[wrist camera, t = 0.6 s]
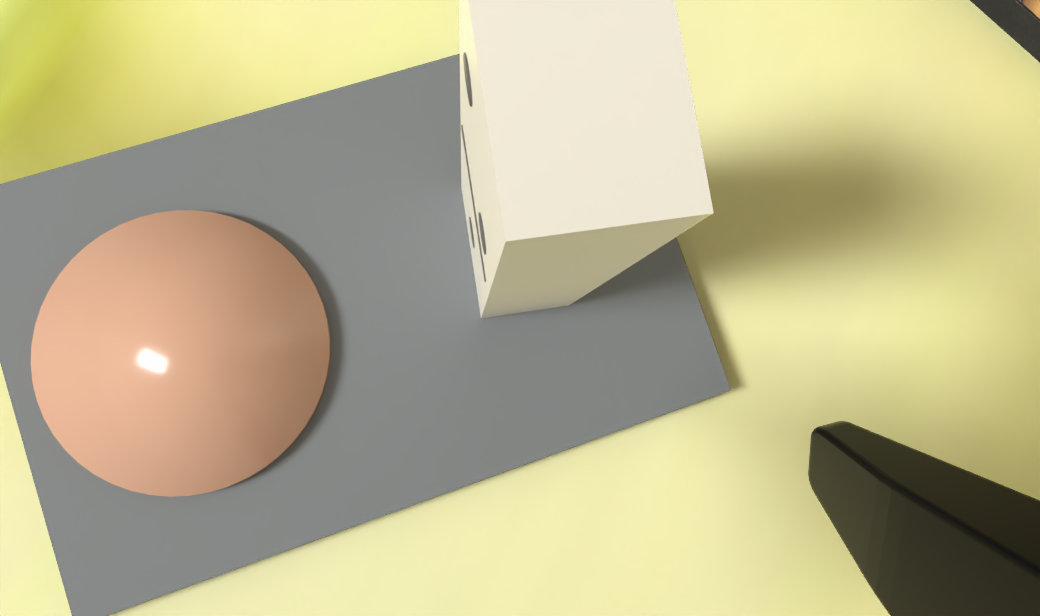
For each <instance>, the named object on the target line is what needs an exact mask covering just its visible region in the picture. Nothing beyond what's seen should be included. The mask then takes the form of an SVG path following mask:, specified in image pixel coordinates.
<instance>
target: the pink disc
mask: <svg viewBox="0 0 1040 616" xmlns="http://www.w3.org/2000/svg"><path fill="white" fill-rule="evenodd" d="M330 359H331V336H330V328H329V321H328V317H327V313H326V310H325V306H324V303H323V301H322V298H321V296H320V294H319V291H318V289H317V287H316V285H315V283H314V282H313V280H312V278H311V277H310V275H309V273H308V272H307V270H306V269H305V268H304V267H303V265H302V264H301V263H300V262H299V260H298V259H297V258H296V257H295V256H294V255H293V254H292V253H291V252H290V251H289V250H288V249H287V248H286V247H284V246H283V245H282V244H281V243H279V242H278V241H277V240H275V239H274V238H272V237H271V236H270V235H268V234H267V233H265V232H264V231H262V230H260V229H258V228H256V227H254V226H253V225H251V224H249V223H246V222H244V221H241V220H238V219H236V218H233V217H230V216H226V215H222V214H218V213H214V212H206V211H197V210H175V211H167V212H160V213H154V214H150V215H147V216H143V217H139V218H136V219H133V220H131V221H128V222H126V223H123V224H121V225H119V226H117V227H115V228H113V229H111V230H109V231H108V232H106V233H104V234H102V235H101V236H99V237H98V238H97V239H95V240H94V241H92V242H91V243H89V244H88V245H87V246H86V247H85V248H83V249H82V250H81V251H80V252H79V253H78V254H77V255H76V256H75V257H74V258H73V259H72V260H71V261H70V262H69V263H68V264H67V266H66V267H65V268H64V269H63V270H62V271H61V273H60V274H59V276H58V277H57V279H56V280H55V282H54V283H53V285H52V286H51V288H50V289H49V291H48V293H47V295H46V298H45V300H44V302H43V304H42V306H41V308H40V311H39V314H38V318H37V321H36V324H35V328H34V333H33V339H32V344H31V373H32V383H33V387H34V391H35V395H36V399H37V402H38V405H39V407H40V410H41V413H42V415H43V418H44V420H45V421H46V423H47V425H48V427H49V428H50V430H51V432H52V434H53V435H54V437H55V438H56V439H57V440H58V442H59V443H60V444H61V445H62V447H63V448H64V449H65V451H67V452H68V453H69V454H70V455H71V456H72V457H73V458H74V459H75V460H76V461H77V462H78V463H79V464H80V465H82V466H83V467H85V468H86V469H87V470H89V471H90V472H91V473H93V474H94V475H96V476H98V477H100V478H102V479H103V480H105V481H107V482H109V483H111V484H113V485H116V486H119V487H122V488H124V489H127V490H130V491H134V492H138V493H143V494H147V495H155V496H167V497H175V496H192V495H197V494H203V493H209V492H212V491H216V490H219V489H222V488H225V487H229V486H231V485H233V484H235V483H237V482H240V481H242V480H244V479H246V478H248V477H250V476H252V475H254V474H255V473H257V472H259V471H260V470H262V469H264V468H265V467H267V466H268V465H269V464H271V463H272V462H273V461H275V460H276V459H277V458H278V457H280V456H281V455H282V454H283V453H284V452H285V451H286V450H287V449H288V448H289V447H290V446H291V445H292V444H293V443H294V442H295V441H296V440H297V438H298V437H299V436H300V434H301V433H302V432H303V430H304V429H305V428H306V426H307V425H308V423H309V421H310V420H311V418H312V416H313V415H314V413H315V411H316V409H317V407H318V405H319V402H320V400H321V397H322V395H323V392H324V389H325V385H326V382H327V378H328V374H329V367H330Z"/></svg>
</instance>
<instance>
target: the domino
mask: <svg viewBox="0 0 1040 616" xmlns="http://www.w3.org/2000/svg"><path fill="white" fill-rule="evenodd" d="M459 42H460V117H461V188H462V195H463V202H464V208H465V215H466V222H467V228H468V235H469V242H470V248H471V255H472V262H473V268H474V275H475V282H476V288H477V295H478V302H479V308H480V315H481V318H488V317H495V316H502V315H508V314H515V313H522V312H529V311H535V310H542V309H549V308H556V307H562V306H569V305H570V304H572V303H574V302H575V301H577V300H578V299H580V298H581V297H583V296H585V295H586V294H588V293H589V292H591V291H592V290H594V289H596V288H597V287H599V286H600V285H602V284H603V283H605V282H606V281H608V280H610V279H611V278H613V277H614V276H616V275H617V274H619V273H621V272H622V271H624V270H625V269H627V268H628V267H630V266H632V265H633V264H635V263H636V262H638V261H639V260H641V259H643V258H644V257H646V256H647V255H649V254H650V253H652V252H654V251H655V250H657V249H658V248H660V247H661V246H663V245H665V244H666V243H668V242H669V241H671V240H672V239H674V238H676V237H677V236H679V235H680V234H682V233H683V232H685V231H687V230H688V229H690V228H691V227H693V226H694V225H696V224H697V223H699V222H701V221H702V220H704V219H705V218H707V217H708V216H710V215H712V214H713V213H714V212H713V207H712V201H711V196H710V190H709V185H708V179H707V174H706V168H705V163H704V157H703V152H702V146H701V141H700V135H699V130H698V125H697V119H696V114H695V108H694V103H693V97H692V92H691V86H690V81H689V75H688V70H687V64H686V59H685V53H684V48H683V43H682V37H681V32H680V26H679V21H678V15H677V10H676V4H675V0H459Z"/></svg>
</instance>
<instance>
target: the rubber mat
mask: <svg viewBox="0 0 1040 616" xmlns="http://www.w3.org/2000/svg"><path fill="white" fill-rule="evenodd" d="M175 210H197V211H206V212H214V213H218V214H222V215H226V216H230V217H233V218H236V219H238V220H241V221H244V222H246V223H249V224H251V225H253V226H254V227H256V228H258V229H260V230H262V231H264V232H265V233H267V234H268V235H270V236H271V237H272V238H274V239H275V240H277V241H278V242H279V243H281V244H282V245H283V246H284V247H286V248H287V249H288V250H289V251H290V252H291V253H292V254H293V255H294V256H295V257H296V258H297V259H298V260H299V262H300V263H301V264H302V265H303V267H304V268H305V269H306V270H307V272H308V273H309V275H310V277H311V278H312V280H313V282H314V283H315V285H316V287H317V289H318V291H319V294H320V296H321V298H322V301H323V303H324V306H325V310H326V313H327V317H328V321H329V328H330V336H331V359H330V367H329V374H328V378H327V382H326V385H325V389H324V392H323V395H322V397H321V400H320V402H319V405H318V407H317V409H316V411H315V413H314V415H313V416H312V418H311V420H310V421H309V423H308V425H307V426H306V428H305V429H304V430H303V432H302V433H301V434H300V436H299V437H298V438H297V440H296V441H295V442H294V443H293V444H292V445H291V446H290V447H289V448H288V449H287V450H286V451H285V452H284V453H283V454H282V455H281V456H280V457H278V458H277V459H276V460H275V461H273V462H272V463H271V464H269V465H268V466H267V467H265V468H264V469H262V470H260V471H259V472H257V473H255V474H254V475H252V476H250V477H248V478H246V479H244V480H242V481H240V482H237V483H235V484H233V485H231V486H229V487H225V488H222V489H219V490H216V491H212V492H209V493H203V494H197V495H192V496H175V497H167V496H155V495H147V494H143V493H138V492H134V491H130V490H127V489H124V488H122V487H119V486H116V485H113V484H111V483H109V482H107V481H105V480H103V479H102V478H100V477H98V476H96V475H94V474H93V473H91V472H90V471H89V470H87V469H86V468H85V467H83V466H82V465H80V464H79V463H78V462H77V461H76V460H75V459H74V458H73V457H72V456H71V455H70V454H69V453H68V452H67V451H65V449H64V448H63V447H62V445H61V444H60V443H59V442H58V440H57V439H56V438H55V437H54V435H53V434H52V432H51V430H50V428H49V427H48V425H47V423H46V421H45V420H44V418H43V415H42V413H41V410H40V407H39V405H38V402H37V399H36V395H35V391H34V387H33V383H32V373H31V344H32V339H33V333H34V328H35V324H36V321H37V318H38V314H39V311H40V308H41V306H42V304H43V302H44V300H45V298H46V295H47V293H48V291H49V289H50V288H51V286H52V285H53V283H54V282H55V280H56V279H57V277H58V276H59V274H60V273H61V271H62V270H63V269H64V268H65V267H66V266H67V264H68V263H69V262H70V261H71V260H72V259H73V258H74V257H75V256H76V255H77V254H78V253H79V252H80V251H81V250H82V249H83V248H85V247H86V246H87V245H88V244H89V243H91V242H92V241H94V240H95V239H97V238H98V237H99V236H101V235H102V234H104V233H106V232H108V231H109V230H111V229H113V228H115V227H117V226H119V225H121V224H123V223H126V222H128V221H131V220H133V219H136V218H139V217H143V216H147V215H150V214H154V213H160V212H167V211H175ZM0 363H1V367H2V370H3V374H4V377H5V381H6V384H7V388H8V392H9V395H10V399H11V402H12V406H13V409H14V413H15V416H16V420H17V423H18V427H19V430H20V434H21V437H22V441H23V444H24V448H25V451H26V455H27V458H28V462H29V465H30V469H31V472H32V476H33V479H34V483H35V486H36V490H37V494H38V497H39V501H40V504H41V508H42V511H43V515H44V518H45V522H46V525H47V529H48V532H49V536H50V539H51V543H52V546H53V550H54V553H55V557H56V560H57V564H58V567H59V571H60V574H61V578H62V581H63V585H64V588H65V592H66V596H67V599H68V603H69V606H70V610H71V613H72V616H107V615H110V614H113V613H115V612H118V611H121V610H124V609H126V608H129V607H132V606H135V605H138V604H140V603H143V602H146V601H149V600H151V599H154V598H157V597H160V596H162V595H165V594H168V593H171V592H174V591H176V590H179V589H182V588H185V587H187V586H190V585H193V584H196V583H198V582H201V581H204V580H207V579H210V578H212V577H215V576H218V575H221V574H223V573H226V572H229V571H232V570H234V569H237V568H240V567H243V566H246V565H248V564H251V563H254V562H257V561H259V560H262V559H265V558H268V557H270V556H273V555H276V554H279V553H282V552H284V551H287V550H290V549H293V548H295V547H298V546H301V545H304V544H306V543H309V542H312V541H315V540H318V539H320V538H323V537H326V536H329V535H331V534H334V533H337V532H340V531H342V530H345V529H348V528H351V527H354V526H356V525H359V524H362V523H365V522H367V521H370V520H373V519H376V518H378V517H381V516H384V515H387V514H390V513H392V512H395V511H398V510H401V509H403V508H406V507H409V506H412V505H414V504H417V503H420V502H423V501H426V500H428V499H431V498H434V497H437V496H439V495H442V494H445V493H448V492H450V491H453V490H456V489H459V488H462V487H464V486H467V485H470V484H473V483H475V482H478V481H481V480H484V479H486V478H489V477H492V476H495V475H498V474H500V473H503V472H506V471H509V470H511V469H514V468H517V467H520V466H522V465H525V464H528V463H531V462H534V461H536V460H539V459H542V458H545V457H547V456H550V455H553V454H556V453H558V452H561V451H564V450H567V449H570V448H572V447H575V446H578V445H581V444H583V443H586V442H589V441H592V440H594V439H597V438H600V437H603V436H606V435H608V434H611V433H614V432H617V431H619V430H622V429H625V428H628V427H630V426H633V425H636V424H639V423H642V422H644V421H647V420H650V419H653V418H655V417H658V416H661V415H664V414H666V413H669V412H672V411H675V410H678V409H680V408H683V407H686V406H689V405H691V404H694V403H697V402H700V401H702V400H705V399H708V398H711V397H714V396H716V395H719V394H722V393H725V392H727V391H730V390H731V388H730V386H729V383H728V380H727V377H726V374H725V372H724V369H723V366H722V363H721V361H720V358H719V355H718V352H717V349H716V347H715V344H714V341H713V338H712V336H711V333H710V330H709V327H708V324H707V322H706V319H705V316H704V313H703V311H702V308H701V305H700V302H699V299H698V297H697V294H696V291H695V288H694V285H693V283H692V280H691V277H690V274H689V272H688V269H687V266H686V263H685V260H684V258H683V255H682V252H681V249H680V247H679V244H678V241H677V238H674V239H672V240H671V241H669V242H668V243H666V244H665V245H663V246H661V247H660V248H658V249H657V250H655V251H654V252H652V253H650V254H649V255H647V256H646V257H644V258H643V259H641V260H639V261H638V262H636V263H635V264H633V265H632V266H630V267H628V268H627V269H625V270H624V271H622V272H621V273H619V274H617V275H616V276H614V277H613V278H611V279H610V280H608V281H606V282H605V283H603V284H602V285H600V286H599V287H597V288H596V289H594V290H592V291H591V292H589V293H588V294H586V295H585V296H583V297H581V298H580V299H578V300H577V301H575V302H574V303H572V304H570V305H569V306H562V307H556V308H549V309H542V310H535V311H529V312H522V313H515V314H508V315H502V316H495V317H488V318H481V315H480V308H479V302H478V295H477V288H476V282H475V275H474V268H473V262H472V255H471V248H470V242H469V235H468V228H467V222H466V215H465V208H464V202H463V195H462V188H461V117H460V54H457V55H454V56H450V57H447V58H443V59H440V60H436V61H433V62H429V63H426V64H422V65H419V66H415V67H412V68H408V69H405V70H401V71H397V72H394V73H390V74H387V75H383V76H380V77H376V78H373V79H369V80H366V81H362V82H359V83H355V84H352V85H348V86H345V87H341V88H338V89H334V90H330V91H327V92H323V93H320V94H316V95H313V96H309V97H306V98H302V99H299V100H295V101H292V102H288V103H285V104H281V105H278V106H274V107H271V108H267V109H264V110H260V111H256V112H253V113H249V114H246V115H242V116H239V117H235V118H232V119H228V120H225V121H221V122H218V123H214V124H211V125H207V126H204V127H200V128H197V129H193V130H189V131H186V132H182V133H179V134H175V135H172V136H168V137H165V138H161V139H158V140H154V141H151V142H147V143H144V144H140V145H137V146H133V147H130V148H126V149H122V150H119V151H115V152H112V153H108V154H105V155H101V156H98V157H94V158H91V159H87V160H84V161H80V162H77V163H73V164H70V165H66V166H63V167H59V168H55V169H52V170H48V171H45V172H41V173H38V174H34V175H31V176H27V177H24V178H20V179H17V180H13V181H10V182H6V183H3V184H0Z"/></svg>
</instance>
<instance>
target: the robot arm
mask: <svg viewBox="0 0 1040 616" xmlns="http://www.w3.org/2000/svg"><path fill="white" fill-rule="evenodd" d="M808 474H809V481H810V484H811V487H812V489H813V491H814V493H815V495H816V496H817V498H818V500H819V502H820V503H821V505H822V507H823V508H824V510H825V512H826V513H827V515H828V517H829V518H830V520H831V522H832V523H833V525H834V527H835V528H836V530H837V532H838V533H839V535H840V537H841V538H842V540H843V542H844V544H845V545H846V547H847V549H848V550H849V552H850V554H851V555H852V557H853V559H854V560H855V562H856V564H857V565H858V567H859V569H860V570H861V572H862V574H863V575H864V577H865V579H866V580H867V582H868V583H869V585H870V587H871V588H872V590H873V591H874V593H875V594H876V596H877V597H878V599H879V600H880V601H881V603H882V604H883V606H884V607H885V609H886V610H887V611H888V613H889V614H890V615H891V616H1040V501H1039V500H1037V499H1035V498H1032V497H1030V496H1027V495H1025V494H1022V493H1020V492H1017V491H1015V490H1013V489H1010V488H1008V487H1005V486H1003V485H1000V484H998V483H996V482H993V481H991V480H988V479H986V478H983V477H981V476H978V475H976V474H974V473H971V472H969V471H966V470H964V469H961V468H959V467H956V466H954V465H952V464H949V463H947V462H944V461H942V460H939V459H937V458H935V457H932V456H930V455H927V454H925V453H922V452H920V451H917V450H915V449H913V448H910V447H908V446H905V445H903V444H900V443H898V442H895V441H893V440H891V439H888V438H886V437H883V436H881V435H878V434H876V433H874V432H871V431H869V430H866V429H864V428H861V427H859V426H856V425H854V424H852V423H849V422H845V421H838V422H835V423H831V424H827V425H823V426H820V427H817V428H815V429H814V431H813V432H812V435H811V444H810V457H809V470H808Z"/></svg>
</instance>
